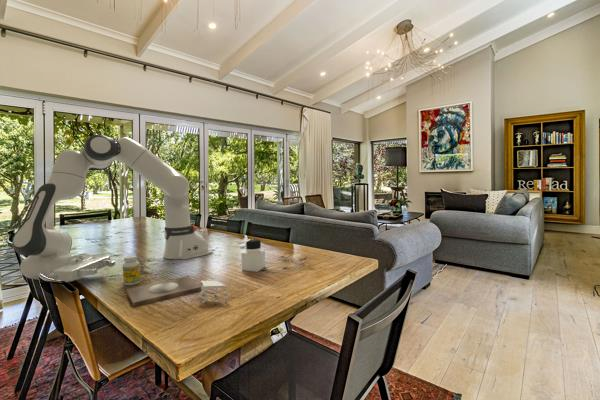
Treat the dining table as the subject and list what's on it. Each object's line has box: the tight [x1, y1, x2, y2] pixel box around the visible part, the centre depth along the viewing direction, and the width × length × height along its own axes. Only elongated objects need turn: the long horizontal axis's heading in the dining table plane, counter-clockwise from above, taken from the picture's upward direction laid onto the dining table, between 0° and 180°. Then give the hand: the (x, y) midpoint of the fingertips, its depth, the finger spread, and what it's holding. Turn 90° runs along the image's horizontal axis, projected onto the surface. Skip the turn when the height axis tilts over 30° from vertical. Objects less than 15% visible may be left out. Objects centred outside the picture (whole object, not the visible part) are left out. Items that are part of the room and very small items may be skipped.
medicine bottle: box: [241, 238, 266, 273], centre depth 124 cm, size 7×7×12 cm
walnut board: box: [125, 275, 202, 307], centre depth 101 cm, size 20×14×1 cm
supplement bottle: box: [122, 255, 142, 286], centre depth 109 cm, size 5×5×10 cm
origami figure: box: [196, 280, 231, 304], centre depth 94 cm, size 12×8×5 cm
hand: (105, 267), depth 110 cm, fingers open, 8 cm apart
